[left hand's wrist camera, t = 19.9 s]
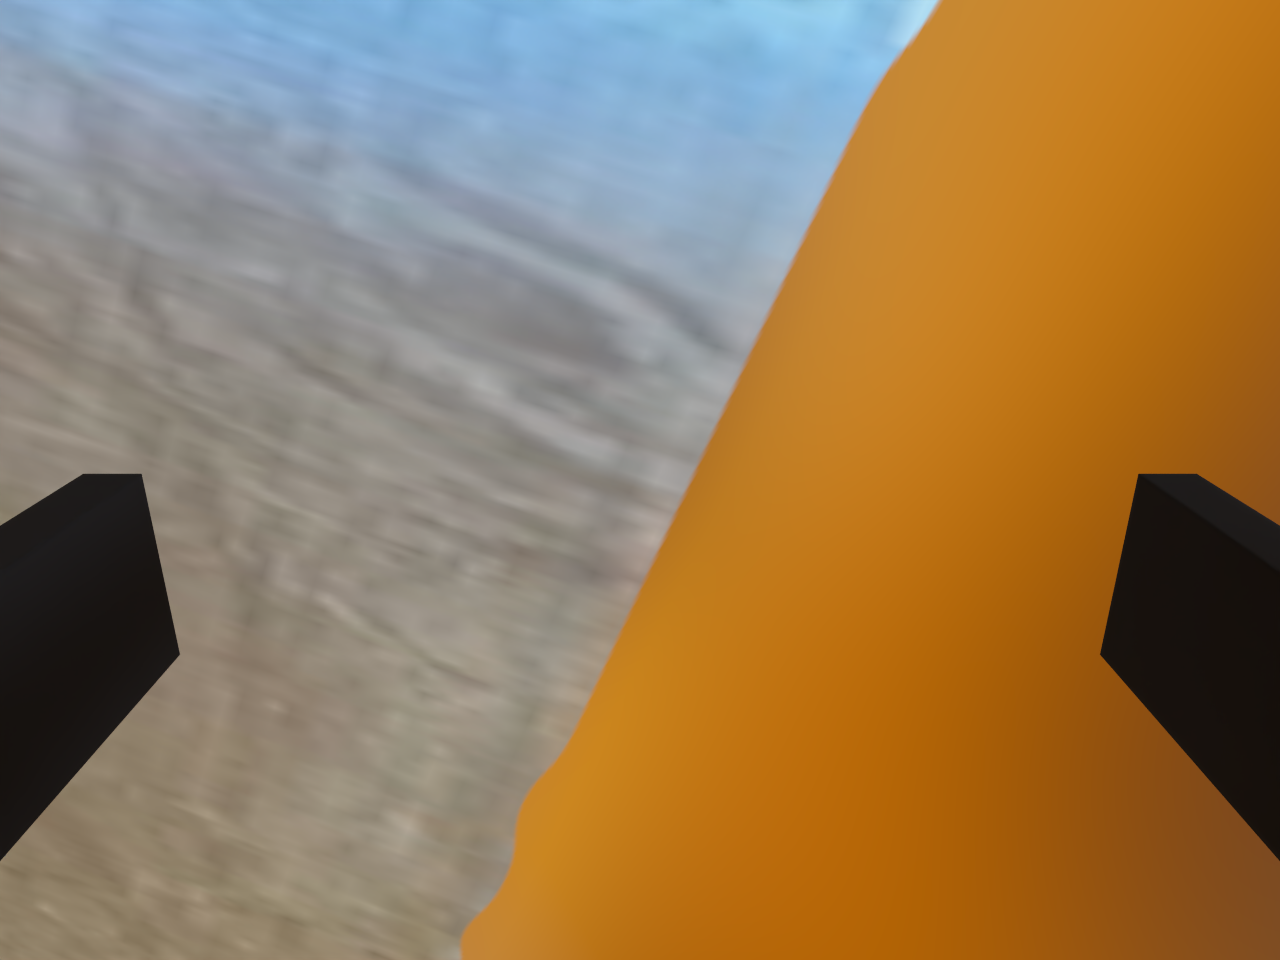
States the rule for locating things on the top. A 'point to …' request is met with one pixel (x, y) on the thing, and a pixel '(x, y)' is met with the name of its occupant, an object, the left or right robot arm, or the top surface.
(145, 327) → the top surface
